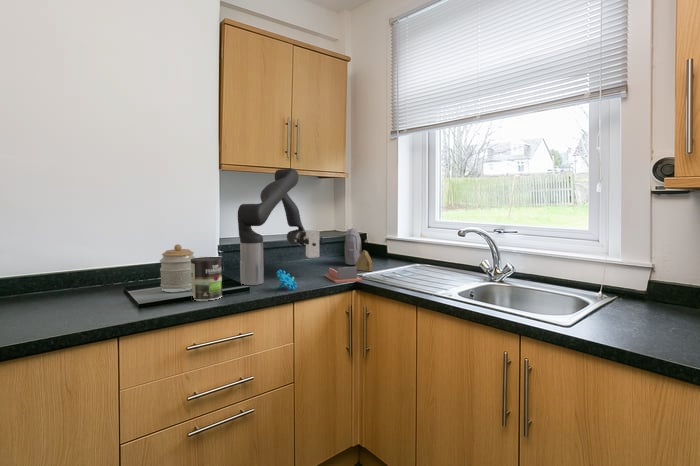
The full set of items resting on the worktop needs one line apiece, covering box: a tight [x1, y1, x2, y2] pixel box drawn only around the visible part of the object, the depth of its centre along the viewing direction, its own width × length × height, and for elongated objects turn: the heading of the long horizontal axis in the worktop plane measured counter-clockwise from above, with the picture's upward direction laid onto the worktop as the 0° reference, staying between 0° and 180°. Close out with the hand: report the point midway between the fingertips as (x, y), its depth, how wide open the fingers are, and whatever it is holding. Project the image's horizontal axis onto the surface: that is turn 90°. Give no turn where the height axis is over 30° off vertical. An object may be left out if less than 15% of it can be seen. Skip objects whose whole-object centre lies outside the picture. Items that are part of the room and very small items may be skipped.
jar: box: [159, 243, 196, 289], centre depth 147 cm, size 13×13×18 cm
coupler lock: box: [305, 229, 320, 259], centre depth 173 cm, size 5×5×12 cm
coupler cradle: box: [324, 266, 363, 284], centre depth 169 cm, size 12×16×6 cm
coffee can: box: [191, 256, 223, 302], centre depth 134 cm, size 10×10×14 cm
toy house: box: [354, 249, 374, 272], centre depth 190 cm, size 11×9×10 cm
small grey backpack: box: [344, 227, 363, 266], centre depth 207 cm, size 15×8×20 cm, turn 169°
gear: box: [275, 269, 298, 291], centre depth 149 cm, size 11×6×10 cm
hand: (314, 242), depth 171 cm, fingers closed on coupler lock, 5 cm apart
